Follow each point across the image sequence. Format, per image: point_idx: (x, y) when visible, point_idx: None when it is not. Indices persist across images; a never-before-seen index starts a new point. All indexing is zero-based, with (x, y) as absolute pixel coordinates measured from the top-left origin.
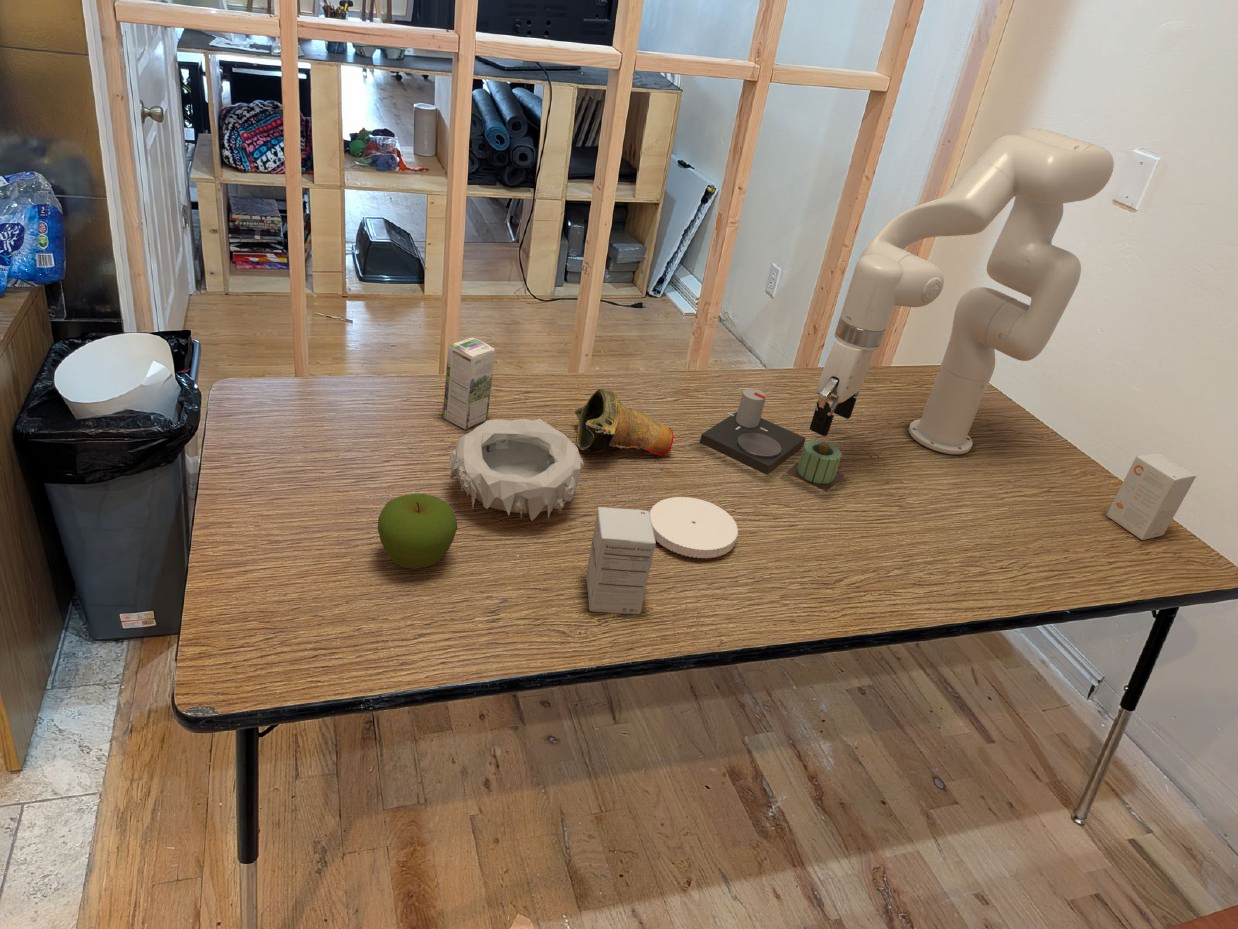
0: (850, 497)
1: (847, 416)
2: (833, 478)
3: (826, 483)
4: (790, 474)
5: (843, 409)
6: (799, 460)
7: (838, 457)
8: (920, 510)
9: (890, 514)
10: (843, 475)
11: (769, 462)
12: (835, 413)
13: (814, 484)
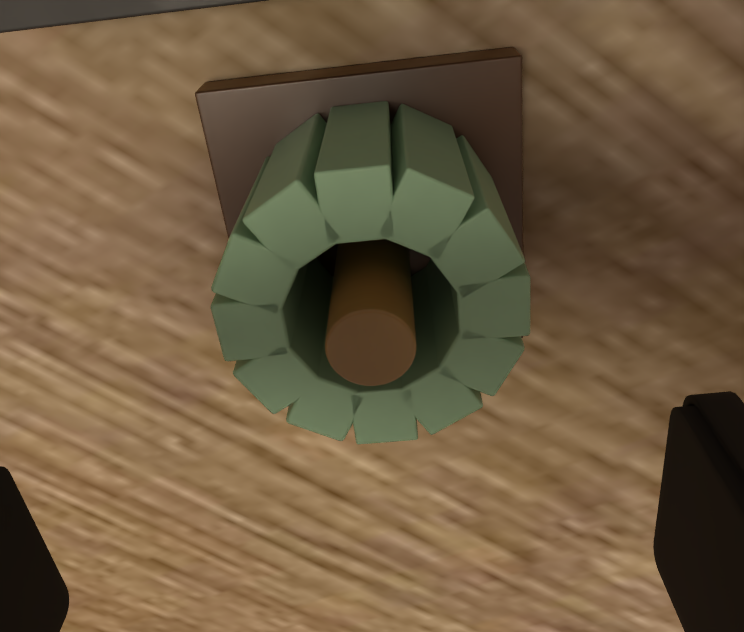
0: None
1: (662, 569)
2: None
3: None
4: (204, 129)
5: (698, 571)
6: (307, 134)
7: (375, 436)
8: (568, 609)
9: (423, 560)
10: None
11: (30, 1)
12: (671, 430)
13: None
